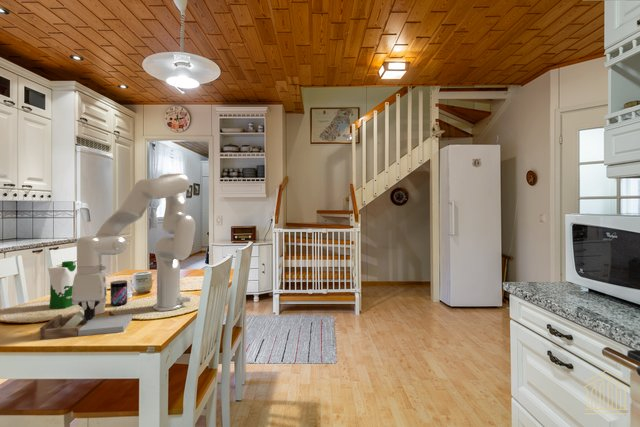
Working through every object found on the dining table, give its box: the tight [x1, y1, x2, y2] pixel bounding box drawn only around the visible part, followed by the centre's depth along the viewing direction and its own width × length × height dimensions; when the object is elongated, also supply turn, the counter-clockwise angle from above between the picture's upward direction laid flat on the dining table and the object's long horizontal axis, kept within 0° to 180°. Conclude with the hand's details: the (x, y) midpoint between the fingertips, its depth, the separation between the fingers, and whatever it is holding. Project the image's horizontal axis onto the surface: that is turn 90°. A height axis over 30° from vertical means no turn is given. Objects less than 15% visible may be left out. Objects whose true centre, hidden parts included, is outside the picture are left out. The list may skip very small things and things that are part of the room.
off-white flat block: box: [61, 309, 84, 328], centre depth 122 cm, size 6×6×3 cm
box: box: [39, 314, 88, 340], centre depth 121 cm, size 11×14×4 cm
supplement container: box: [110, 279, 128, 307], centre depth 153 cm, size 7×7×10 cm
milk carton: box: [47, 260, 77, 309], centre depth 149 cm, size 9×9×20 cm
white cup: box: [88, 301, 107, 315], centre depth 141 cm, size 7×7×7 cm
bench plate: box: [77, 313, 133, 337], centre depth 125 cm, size 14×14×2 cm
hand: (89, 318), depth 123 cm, fingers closed
